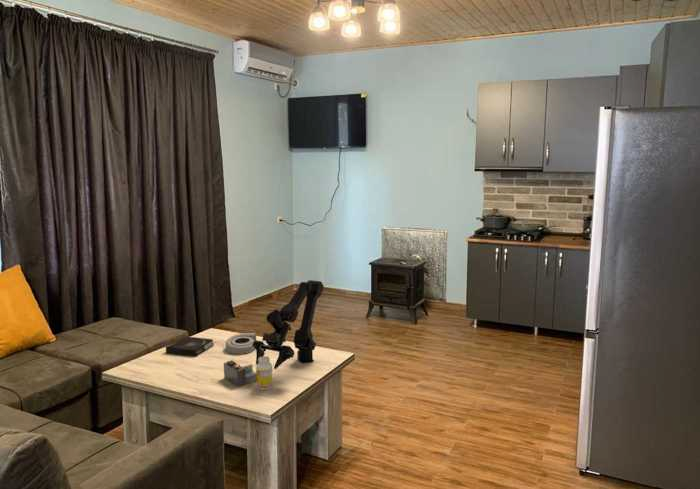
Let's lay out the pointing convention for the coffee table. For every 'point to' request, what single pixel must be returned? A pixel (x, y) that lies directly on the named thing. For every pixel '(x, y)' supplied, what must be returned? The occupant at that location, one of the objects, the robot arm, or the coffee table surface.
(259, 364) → the supplement bottle
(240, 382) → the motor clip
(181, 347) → the portable cd player
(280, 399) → the coffee table surface
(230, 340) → the turbocharger housing
